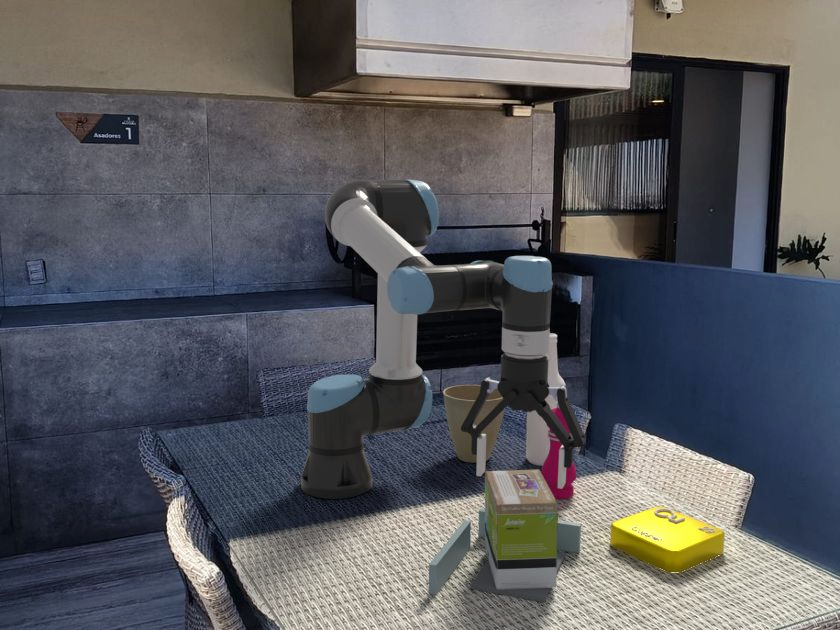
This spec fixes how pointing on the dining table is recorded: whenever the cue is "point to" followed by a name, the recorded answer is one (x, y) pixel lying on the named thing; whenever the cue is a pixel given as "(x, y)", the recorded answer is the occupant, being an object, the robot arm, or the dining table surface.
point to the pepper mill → (552, 464)
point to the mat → (487, 584)
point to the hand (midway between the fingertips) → (520, 479)
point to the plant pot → (457, 411)
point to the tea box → (520, 529)
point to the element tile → (667, 539)
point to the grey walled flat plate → (461, 538)
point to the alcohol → (535, 424)
